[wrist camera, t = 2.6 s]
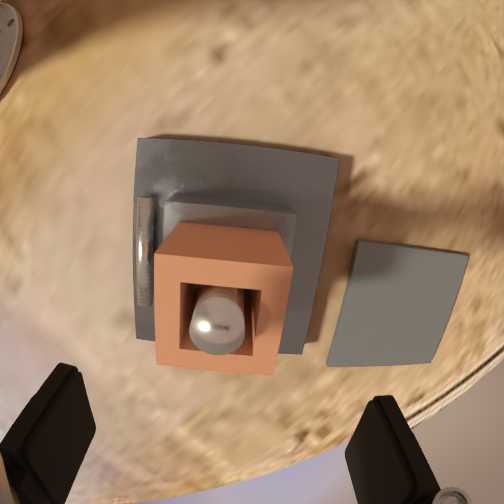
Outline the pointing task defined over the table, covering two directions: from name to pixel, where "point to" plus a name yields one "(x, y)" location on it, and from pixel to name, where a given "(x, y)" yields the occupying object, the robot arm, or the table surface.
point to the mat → (395, 305)
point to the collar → (227, 275)
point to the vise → (231, 215)
